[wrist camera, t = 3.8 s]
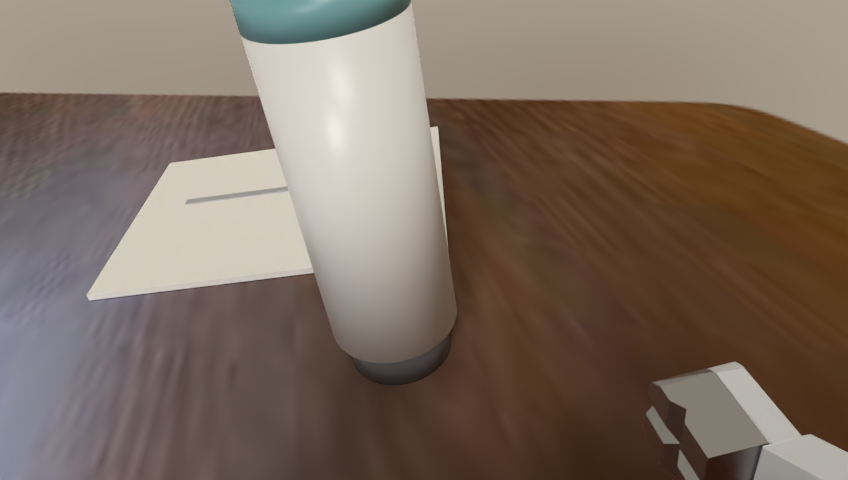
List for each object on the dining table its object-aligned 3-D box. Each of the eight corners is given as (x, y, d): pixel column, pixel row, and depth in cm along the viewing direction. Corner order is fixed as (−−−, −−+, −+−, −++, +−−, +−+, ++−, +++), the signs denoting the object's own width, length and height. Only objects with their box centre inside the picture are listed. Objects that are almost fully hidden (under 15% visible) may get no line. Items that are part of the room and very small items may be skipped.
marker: (336, 400, 21) (206, 11, 14) (346, 312, 25) (247, -36, 18) (465, 386, 21) (404, -20, 14) (457, 299, 25) (405, -61, 17)
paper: (89, 300, 28) (85, 294, 28) (171, 167, 38) (169, 161, 38) (448, 256, 27) (447, 249, 27) (438, 131, 37) (437, 125, 37)
